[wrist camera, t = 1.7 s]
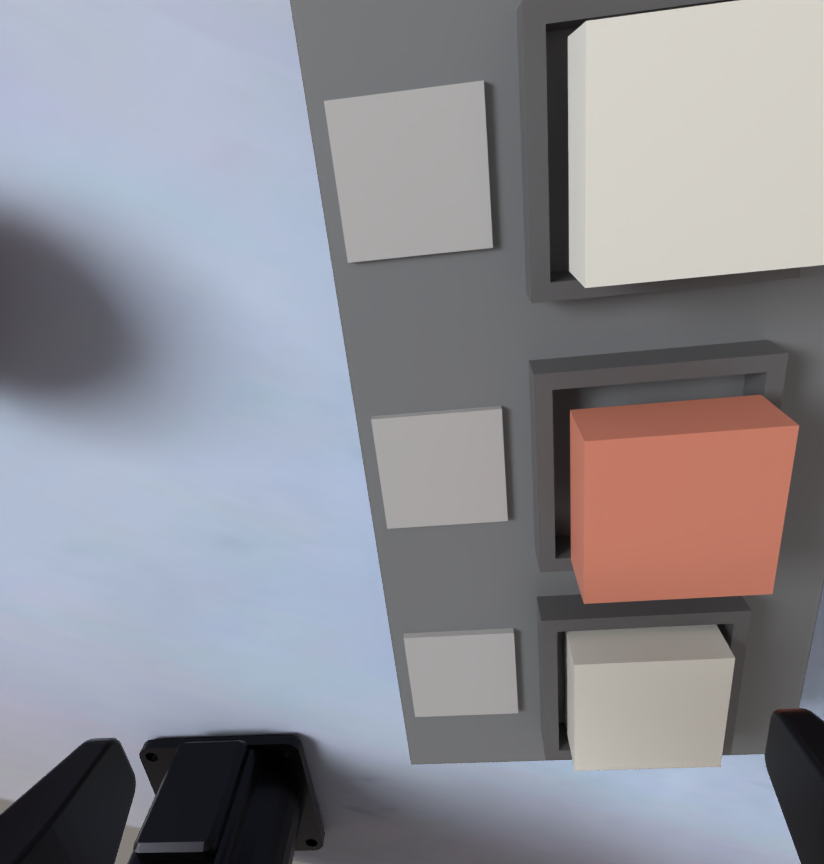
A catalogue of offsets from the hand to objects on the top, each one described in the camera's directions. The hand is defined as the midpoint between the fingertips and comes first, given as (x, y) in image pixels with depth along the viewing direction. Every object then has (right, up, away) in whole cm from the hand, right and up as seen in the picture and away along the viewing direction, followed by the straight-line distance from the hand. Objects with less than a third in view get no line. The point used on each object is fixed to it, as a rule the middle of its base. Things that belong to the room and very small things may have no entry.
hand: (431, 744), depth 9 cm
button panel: (+5, +5, +10) cm, 12 cm away
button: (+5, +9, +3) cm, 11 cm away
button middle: (+5, +3, +6) cm, 8 cm away
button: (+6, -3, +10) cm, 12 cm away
